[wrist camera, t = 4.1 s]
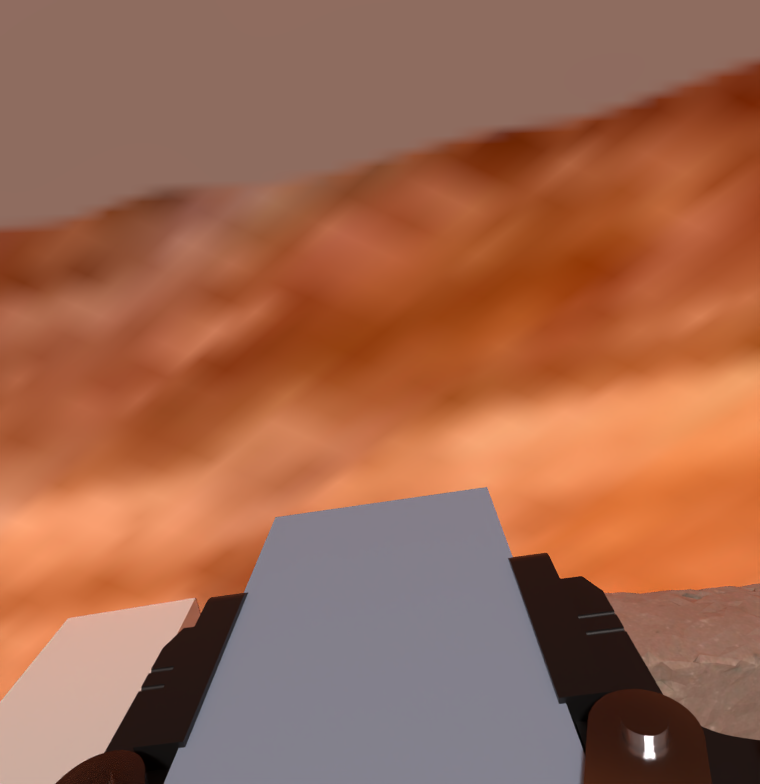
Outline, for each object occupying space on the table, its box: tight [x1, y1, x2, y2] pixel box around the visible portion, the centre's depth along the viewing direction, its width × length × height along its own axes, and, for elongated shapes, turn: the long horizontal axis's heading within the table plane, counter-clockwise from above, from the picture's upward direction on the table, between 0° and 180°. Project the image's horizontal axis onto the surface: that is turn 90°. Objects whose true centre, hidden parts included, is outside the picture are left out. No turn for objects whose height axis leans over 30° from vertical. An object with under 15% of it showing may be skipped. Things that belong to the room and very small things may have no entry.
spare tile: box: [164, 487, 585, 784], centre depth 9 cm, size 5×2×10 cm, turn 99°
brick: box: [604, 584, 760, 740], centre depth 22 cm, size 17×8×5 cm, turn 93°
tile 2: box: [0, 598, 200, 784], centre depth 18 cm, size 5×2×10 cm, turn 100°
